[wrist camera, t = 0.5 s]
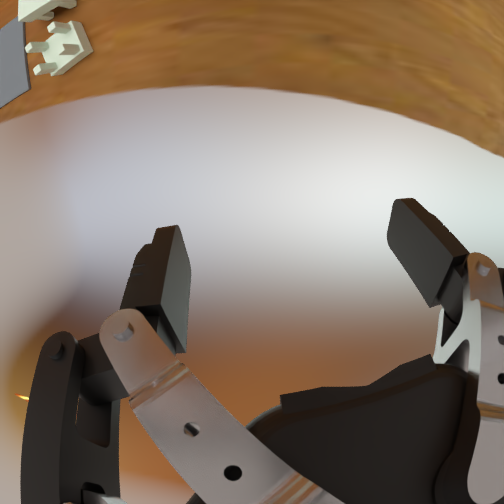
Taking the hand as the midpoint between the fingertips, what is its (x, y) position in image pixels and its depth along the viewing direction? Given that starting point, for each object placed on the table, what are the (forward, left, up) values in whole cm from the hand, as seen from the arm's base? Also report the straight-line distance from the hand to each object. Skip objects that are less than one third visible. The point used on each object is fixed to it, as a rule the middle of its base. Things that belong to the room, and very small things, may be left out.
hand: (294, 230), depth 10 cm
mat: (-19, -36, -27) cm, 49 cm away
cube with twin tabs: (-24, -22, -27) cm, 43 cm away
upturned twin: (-15, -21, -28) cm, 38 cm away
